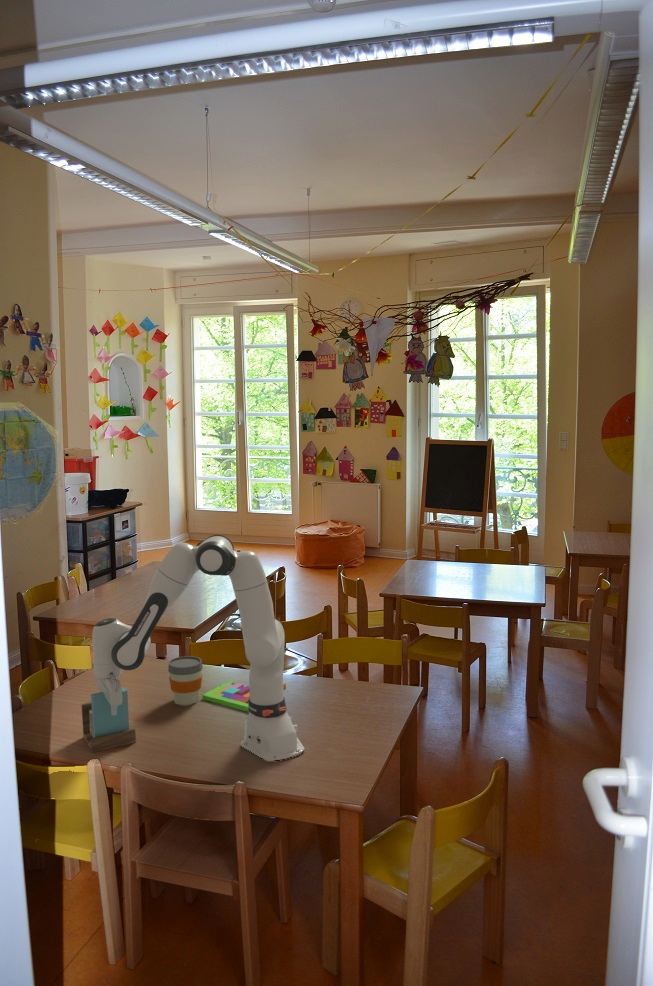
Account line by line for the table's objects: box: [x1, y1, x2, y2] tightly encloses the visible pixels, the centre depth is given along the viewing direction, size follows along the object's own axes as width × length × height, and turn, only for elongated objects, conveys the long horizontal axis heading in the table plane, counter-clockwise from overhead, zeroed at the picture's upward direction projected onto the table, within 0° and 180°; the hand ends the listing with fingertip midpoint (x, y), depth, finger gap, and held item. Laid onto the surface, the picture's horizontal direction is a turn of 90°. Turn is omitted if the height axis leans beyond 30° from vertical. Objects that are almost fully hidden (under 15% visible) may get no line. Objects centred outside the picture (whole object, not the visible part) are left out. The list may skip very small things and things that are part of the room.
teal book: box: [90, 687, 130, 738], centre depth 251 cm, size 3×11×16 cm, turn 120°
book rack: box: [81, 701, 137, 754], centre depth 255 cm, size 13×14×12 cm
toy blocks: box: [202, 680, 287, 713], centre depth 292 cm, size 23×2×25 cm
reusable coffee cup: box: [167, 655, 203, 706], centre depth 286 cm, size 13×13×15 cm
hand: (110, 709), depth 251 cm, fingers open, 8 cm apart
